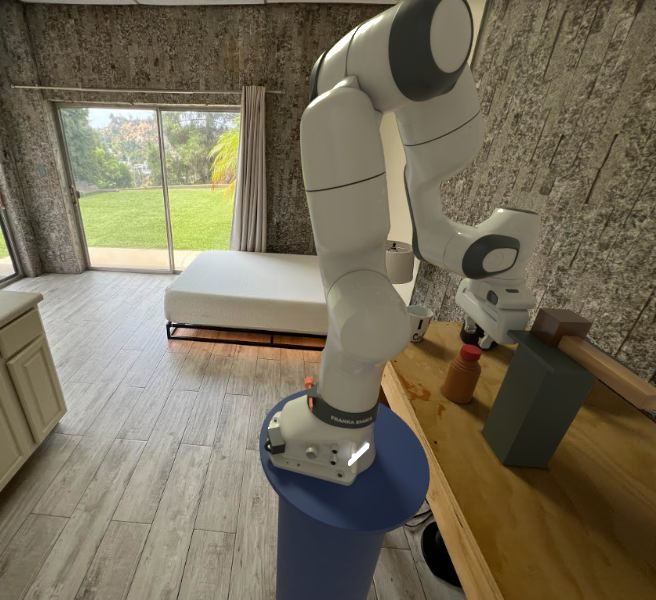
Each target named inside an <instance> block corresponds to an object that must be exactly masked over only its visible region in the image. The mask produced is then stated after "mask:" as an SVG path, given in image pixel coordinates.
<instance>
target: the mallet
mask: <svg viewBox="0 0 656 600" xmlns="http://www.w3.org/2000/svg"><path fill="white" fill-rule="evenodd" d="M593 325H594V322H592V321H590V320H589V319H587V318H586V317H584V316H582V315H581V314H579V313H577V312H576V311H574V310H572V309H570V308H544V307H540V308H539V309H538V311H537V314H536V316H535V318H534V320H533V323H532V325H531V327H530V329H529V331H530V332H531V333H532V334H533V335H535V336H536V337H537V338H538V339H540V340H541V341H542V342H544V343H545V344H546V345H547V346H549V347H558V348H559V349H560V350H562V351H563V352H564V353H566V354H567V355H568V356H570V357H571V358H572V359H574V360H575V361H576V362H578V363H579V364H580V365H582V366H583V367H584V368H586V369H587V370H588V371H590V372H591V373H592V374H594V375H595V376H596V377H598V378H597V379H599V380H600V381H601V382H603V383H604V384H606V386H607V387H609V388H611V389H612V390H614V391H615V392H616V393H617V394H619V395H620V396H621V397H623V398H624V399H625V400H627V401H628V402H629V403H631V404H632V405H633V406H634V407H636V408H637V409H638V410H649V411H650V410H651V411H656V386H654V385H652V384H651V383H649V382H647V380H645V379H643V378H642V377H640V375H638V376H637V375H636V374H634V373H633V372H631V371H630V370H628V369H627V368H625V367H624V366H622V365H621V364H619V363H618V362H616V361H615V360H613V359H612V358H610V357H609V356H607V355H606V354H604V353H602V352H601V351H599V350H598V349H596V348H595V347H593V346H592V345H590V344H589V343H587V342H586V341H584V340H585V338H586V336H587V335H589V332H590V330H591V328H592V326H593Z"/></svg>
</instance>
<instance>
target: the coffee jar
mask: <svg viewBox="0 0 656 600" xmlns="http://www.w3.org/2000/svg"><path fill="white" fill-rule="evenodd" d="M465 325H466V323H465V318H464V319H463V323H462V326H461V329H460V333H459V336H460V339H461V341H462V343H464V345H465V344H469V345H474V346H476V347H478V348H480V349H481V351H491V350H494V349H496V348H497V347H499V345H500V344H498V343H496V342H495V341H493V342H491V345H490V347H489V348H481V347H480V346H479V344H478V342H479V338H484V337H485V335H484V332H485V331H484V330H483V329H482V328H481V327H480V326H479V325H478V324H477V323H476V322H475V326H476V327H477V328H476V330H475V333H473V334H471V333H470V334H469V333H467V332H466V331H465V330H464V328H465Z"/></svg>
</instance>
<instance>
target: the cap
mask: <svg viewBox="0 0 656 600" xmlns="http://www.w3.org/2000/svg"><path fill="white" fill-rule="evenodd" d="M482 353H483V350H481V349H480V348H478V347H476V346H474V345H469V344H465V343H464V344H463V345H462V346H461V348H460V351H459V356H461V357H462V358H464V359H466V360H468V361H478V362H479V360H480V359H481V357H482Z"/></svg>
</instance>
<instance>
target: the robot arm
mask: <svg viewBox="0 0 656 600" xmlns="http://www.w3.org/2000/svg"><path fill="white" fill-rule="evenodd" d="M473 16H474V15H473V13H472V9H471V6H470V3H469V2H468V0H403V1H402V2H400V3H398V4H395V5H394V6H391V7H390V8H388V9H386V10H384V11H382V12H380V13H378V14H377V15H375V16H373V17H371V18H367V19H365V20H364V21H362V22H361V23H360V24H358V25H357V26H356V27H354V28H353V29H351V30H350V31H349V32H348V33H346V34H345V35H344V36H343V37H342V38H341V39H339V40H338V41H337V42H335V43H333V44H331V45H330V46H328V47H327V48H326V50H324V52H323V53H322V54H321V55H320V56H319V58H318V59H317V60H316V61H315V63H314V65H313V67H312V70H311V73H310V75H309V83H308V98H309V99H308V100H309V101H308V105H307V106H306V108H305V109H304V111H303V113H302V115H301V117H300V122H299V123H300V124H299V138H300V139H299V141H300V143H299V144H300V146H299V147H300V163H301V173H302V179H303V185H304V190H305V197H306V202H307V208H308V214H309V218H310V223H311V228H312V234H313V240H314V246H315V251H316V256H317V261H318V268H319V273H320V279H321V284H322V290H323V295H324V299H325V304H326V310H327V320H328V321H327V322H328V326H327V327H328V328H327V334H326V335H327V336H326V340H325V345H324V348H323V349H322V351H321V354H320V365H319V376H318V381H317V382H316V383H315V379H314V378H313V377H312V376H306V377H305V378H304V388H305V390H307V389H308V391H307V395H304V396H302V397H299V398H297V399H294V400H291V401H289V402H287V403H286V404H285V406H284V407H283V409H282V411H280V412H277V413H276V414H275V415H274V416H273V418H272V419H271V421H270V424H269V428H268V429H267V442H266V443H265V445H264V448H265V450H266V451H268V455H269V458H270V460H271V462H272V464H273V465H274V466H275V467H278V468H282V469H285V470H289V471H293V472H296V473H300V474H304V475H308V476H311V477H315V478H319V479H323V480H326V481H330V482H334V483H338V484H341V485H345V486H349V485H351V484H352V483H353V482H354V480H355V479H356V477H357V475H358V474H359V473H361V472H363V471H364V470H366V469H367V468H368V467H370V466H371V464H372V463H373V461H374V459H375V455H376V449H375V444H374V422H375V421H376V418H377V415H378V411H379V402H380V401H381V400H380V399H381V398H380V396H379V395H380V391H381V385H382V381H383V375H384V371H385V368H386V366H387V364H388V362H390V361H393V360H394V359H396V358H397V357H399V356H400V355H402V354H403V353H404V352H405V351H406V350H407V348H408V347H409V344H410V343H411V341H410V340H411V337H412V327H411V322H410V317H409V313H408V310H407V304H406V302H405V300H404V299H403V298H402V296H401V295H400V293H399V291H397V290H396V288H395V286H394V285H393V283H392V282H391V279H390V277H389V274H388V271H387V265H386V264H387V263H386V262H387V261H386V259H387V258H386V257H387V245H388V237H389V234H390V231H391V227H392V226H391V215H390V203H389V192H388V191H389V190H388V179H387V168H386V157H385V153H384V152H385V151H384V145H383V140H382V135H381V130H380V128H381V124H382V120H383V118H384V116H385V115H387V114H390V113H393V114H394V116H395V122H396V127H397V130H398V134H399V137H400V141H401V145H402V148H403V151H404V152H403V153H404V156H405V165H404V168H403V184H404V185H403V186H404V192H405V197H406V201H407V207H408V211H409V217H410V222H411V227H412V228H411V229H412V234H411V250H412V253H413V255H414V258H416V259H417V260H418V261H420V262H421V263H424V264H425V263H426V264H428V265H433V266H435V267H438V268H440V269H443V270H445V271H448V272H450V273H452V274H456V275H458V276H460V277H463V279H462V280H461V281H460V283H459V285H458V288H457V291H456V293H455V296H454V302H455V304H456V305H457V306H458V307H459V308H460V309H461V310H462V311H463V312H464V319H465V323H466V325H465V328H464V330H465V331H466V332H467V333H469V334H470V333H471V334H473V333H475V330H476V328H477V327H476V326H475V322H476V323H477V324H478V325H479V326H480V327H481V328H482V329H483V330H484V331H485V332H484V335H485V337H484V338H479V342H478V344H479V346H480V347H481V348H489V347H490V345H491V342H493V341H495V342H496V343H498V344H499V345H503V346H504V345H505V346H514V345H516V344H517V343H516V342H515V341H514V340H513V339H512V338H510V337H509V336H508V335H507V331H508V330H526V329H527V326H528V323H529V319H530V313H529V310H533V309H534V308H535V306H536V303H537V300H536V298H535V297H534V296H533V294H532V293H531V292H530V291H529V290H528V287H527V286H526V283H525V282H524V279H525V275H526V265H527V263H528V262H529V261H530V259H531V258H532V256H533V254H534V251H535V249H536V245H537V242H538V240H539V239H538V238H539V234H540V232H541V231H540V230H541V223H542V218H541V215H540V214H539V213H538V212H536V211H533V210H528V209H521V208H516V207H511V206H498V207H496V208H494V210H493V211H492V213H491V215H490V216H489V217H488V218H487V219H486V220H484V221H483V222H481V223H478V224H475V225H474V226H472V225H468V224H464V223H461V222H457V221H454V220H452V219H450V218H449V217H448V216H447V215H446V214H445V213H444V210H443V201H442V193H441V184H442V183H444V182H446V181H449V180H450V179H452V178H454V177H455V176H457V175H459V174H460V173H461V172H463V171H464V170H466V169H467V168H468V167H469V166H470V165H471V164H472V163H473V162H474V161H475V160H476V159H477V156H478V155H479V154H480V152H481V151H482V148H483V146H484V141H485V122H484V115H483V111H482V105H481V101H480V95H479V92H478V88H477V85H476V84H477V83H476V82H475V81H476V80H475V79H474V75H473V72H472V69H471V67H470V65H469V59H470V56H471V53H472V48H473V44H474V33H475V32H474V31H475V26H474V25H475V24H474V17H473ZM517 345H518V344H517ZM380 403H381V402H380ZM338 476H341V477H338Z"/></svg>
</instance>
